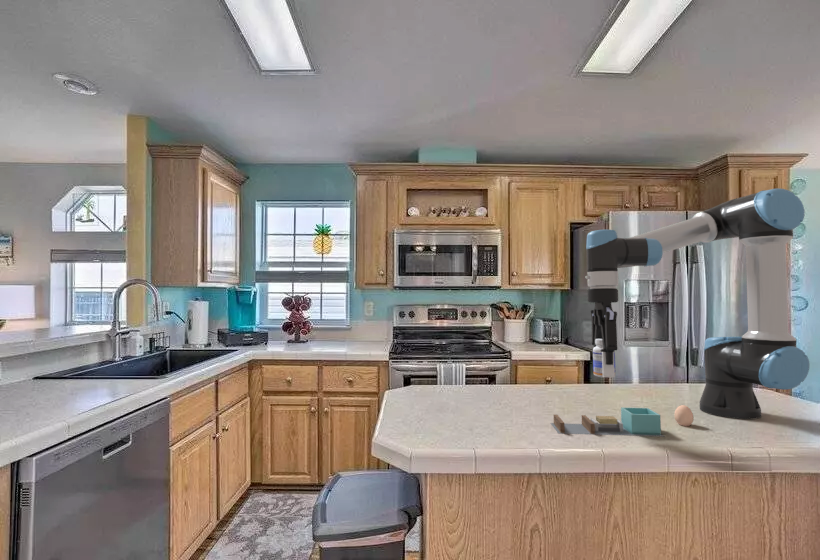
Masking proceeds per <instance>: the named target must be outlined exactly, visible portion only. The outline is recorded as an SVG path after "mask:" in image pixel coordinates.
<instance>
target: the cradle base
mask: <svg viewBox="0 0 820 560" xmlns="http://www.w3.org/2000/svg"><path fill="white" fill-rule="evenodd" d="M616 419H617V418H616ZM590 420H591V421H592V422H593V423H594V424H595V431H607V432H623V423H622V422H621V420H619V419H617V424H600V423H599V422H597V421H596V418H590Z"/></svg>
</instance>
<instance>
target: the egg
mask: <svg viewBox="0 0 820 560" xmlns="http://www.w3.org/2000/svg"><path fill="white" fill-rule="evenodd" d="M673 416H674V421H676V423H677V424H678V425H679V426H684V427H689V426H691V425H692V424H693V422H694V414H693V411H692V410H691V408H689V406H687V405H684V404H682V405H678V406H677V407H676V409H675V410H674V414H673Z"/></svg>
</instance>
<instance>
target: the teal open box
mask: <svg viewBox="0 0 820 560" xmlns="http://www.w3.org/2000/svg"><path fill="white" fill-rule="evenodd" d="M620 418H621V419H620V422H622V423H623V428H625V429H626V430H627V431H628V432H630V433H631V434H641V435H661V434H662V429H661V428H662V426H661V425H662V424H661V423H662V422H661V420H662V419H661V414H659V413H658V412H656V411H654V410H652V409H650V408H648V407H623V406H622V407H620Z"/></svg>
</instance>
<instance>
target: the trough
mask: <svg viewBox="0 0 820 560" xmlns="http://www.w3.org/2000/svg"><path fill="white" fill-rule="evenodd" d="M553 423H554V425H555V426H556V427H557V429H558V430H559V431H560V433H565V424H564V423H565V422H564V421H563V420H562V418H561V417H560V416H559V415H558V414H553ZM581 424H582V425H583V426H584V427H585V428H586V429H587V430H588V431H589V432H590V433H591V434H590V435H593V434H595V424H594V423H593V422H592V421H591V418H589V417H588V416H586V414H585V415H583V414H582V415H581Z"/></svg>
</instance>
